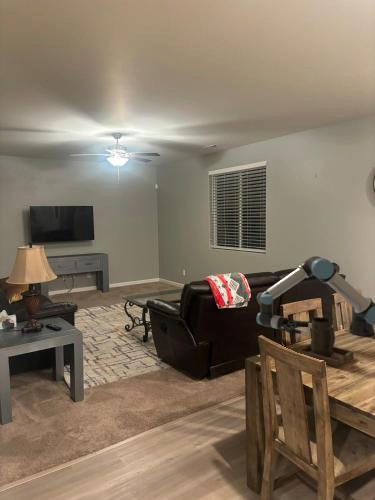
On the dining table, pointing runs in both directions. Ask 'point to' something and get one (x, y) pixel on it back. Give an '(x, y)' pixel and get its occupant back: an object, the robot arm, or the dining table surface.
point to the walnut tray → (334, 360)
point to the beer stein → (322, 337)
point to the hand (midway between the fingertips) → (313, 330)
